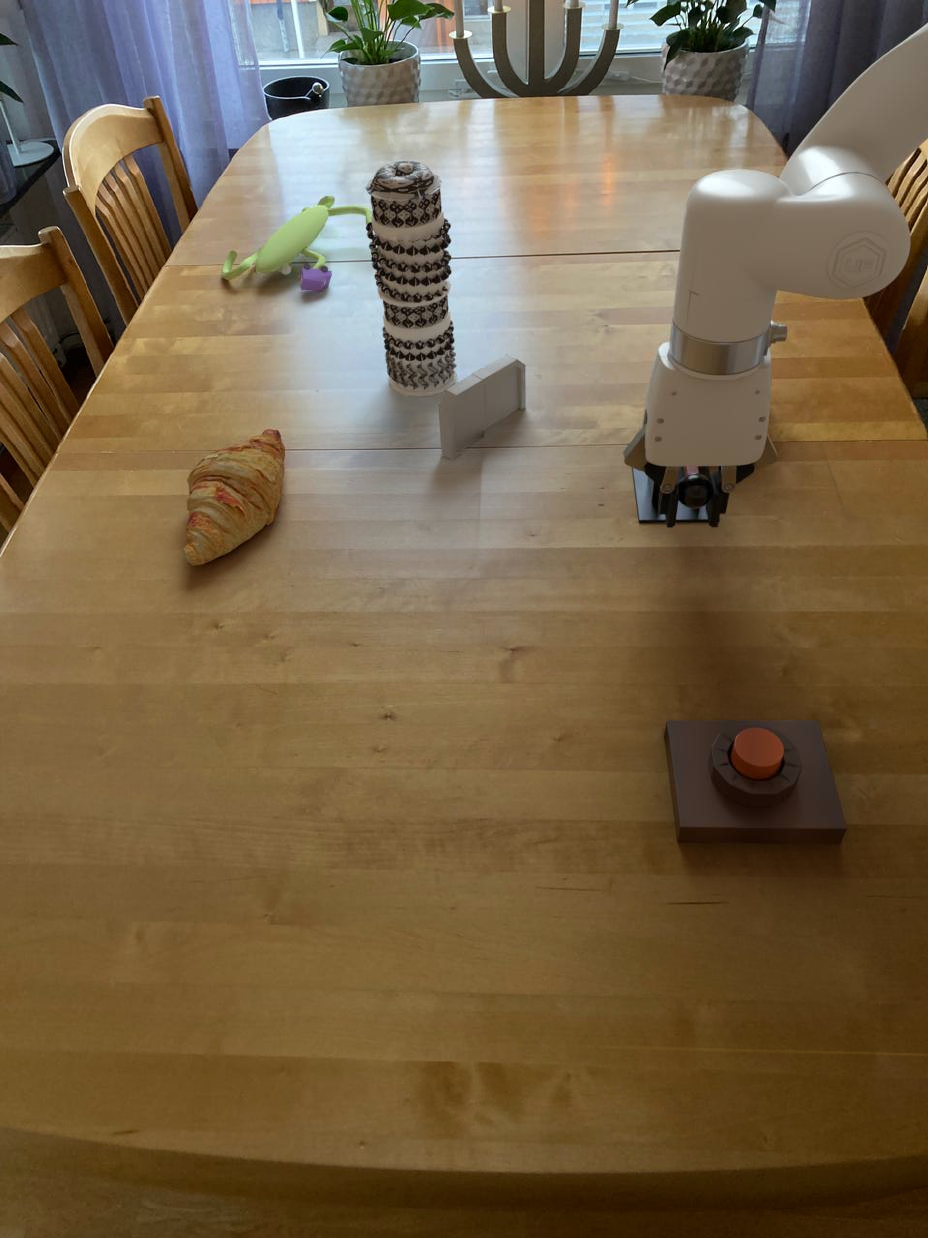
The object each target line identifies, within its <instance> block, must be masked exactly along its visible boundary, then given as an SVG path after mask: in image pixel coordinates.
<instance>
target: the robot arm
mask: <svg viewBox="0 0 928 1238" xmlns="http://www.w3.org/2000/svg"><path fill="white" fill-rule="evenodd" d="M927 140H928V22H927V23H926V24H924V25H923V26H922V27H921V28H919V29H918V30H916V31H914V33H912V34H910V35H909V36H908V37H907V38H906V39H904V40H903V41H902V42H900V43H898V44H897V45H896V46H895V47H893V48H892V49H890V50H889V51H887V53H885V54H884V55H882V56H881V57H880V58H878V59H877V60H876V61H875V62H873V63H872V64H871V65H870V66H869V67H868V68H866V69H865V70H864V71H863V72H862V73H861V74H860V75H858V77H857V78H856V79H855V80H854V81H853V82H852V83H851V84H850V85H849V86H848V87H847V88H846V89H845V90H844V92H842V94H841V95H840V96H839V97H838V98H837V99H836V101H835V102H834V103H833V104H832V105H831V106H830V108H829V109H828V110H827V111H826V112H825V114H823V115H822V117H821V118H820V119H819V121H817V123H816V124H815V125H814V127H813V128H812V129H811V130H810V131H809V132H808V134H807V135H806V136H805V137H804V138H803V140H802V141H801V142H800V144H799V145H798V146H797V147H796V149H794V151H793V153H792V155H791V156H790V157H789V159H788V161H787V162H786V164H785V165H784V168H783V170H782V172H781V173H780V175H779V177H778V176H775V175H773V174H772V173H771V174H770V173H768V172H765V171H760V170H753V169H746V168H736V169H723V170H719V171H714V172H712V173H709V174H706V175H705V176H704V177H702V178H700V179H698V180H697V181H696V182H695V183H694V184H693V186H692V187H691V188H690V191H689V193H688V195H687V197H686V201H685V205H684V213H683V222H682V231H681V239H680V247H679V255H678V265H677V274H676V282H675V291H674V299H673V308H672V318H671V325H670V334H669V341H665V342H663V343H662V344H661V345H660V346H659V347H658V349H657V352H656V355H655V358H654V361H653V365H652V368H651V370H650V371H651V372H650V375H649V379H648V385H647V388H646V389H647V390H646V395H645V399H644V406H643V411H642V412H643V413H642V419H641V428H640V429H639V431H638V432H637V433H636V435H635V436H633V438H632V440H631V441H630V442H629V443H628V445H626V447H625V448H624V450H623V452H622V454H623V456H622V457H623V463H624V464H625V465H626V466H628V467H630V468H631V469H632V468H634V469H637V470H639V471H643V472H645V474H646V475H647V476H648V477H649V478H650V479H651V480H653V481H654V482H655V483H656V484H657V485H658V486H660V492H659V500H658V511H659V515H665V519H666V525H665V526H666V528H667V529H673V528H674V527H675V526H676V523H677V522H676V516H677V509H678V502H679V490H678V485H677V478H678V475H679V471H680V468H681V466H708V467H717V471H716V472H712V475H710V482H711V484H712V488H713V493H712V497H711V499H710V501H709V502H708V503H707V504H706V512H707V517H708V522H707V523H708V525H709V527H710V528H718V527H719V523H720V522H719V518H721V517H720V516H721V515H726V513H727V509H728V505H729V504H728V503H729V498H730V493H732V492H734V491H735V490H736V487H737V485H738V484H739V483H741V482H742V481H744V480H745V479H747V478H748V477H749V476H751V475H752V474H753V473H754V472H755V470H761V469H763V468H766V467H768V466H770V465H773V464H775V463H776V462H777V461H778V460H779V456H778V453H777V449H776V447H775V445H774V442H773V441H772V438H771V437H770V434H769V433H768V431H769V430H768V429H769V422H770V411H771V400H772V399H771V398H772V385H773V384H772V382H773V367H772V366H773V364H772V355H771V349H770V348H771V346H772V345H774V344H776V343H778V342H780V343H781V342H783V343H784V342H786V341H787V338H788V325H787V324H786V323H785V324H784V323H782V324H779V323H777V322H775V323H773V322H772V321H773V320H772V317H773V313H774V309H775V308H774V307H775V303H776V297H777V293H778V291H780V292H785V293H792V294H797V295H802V296H803V295H804V296H808V297H813V298H820V299H828V300H835V301H837V300H838V301H839V300H840V301H844V300H846V301H847V300H857V299H861V298H865V297H868V296H872V295H873V294H876V293H878V292H880V291H881V290H883V289H885V288H886V287H887V286H889V285H890V284H891V283H892V282H894V281H895V280H896V278H897V277H898V276H899V275H900V274H901V272H902V270H903V269H904V267H905V265H906V263H907V261H908V259H909V255H910V250H911V230H910V227H909V224H908V222H907V219H906V216H905V214H904V212H903V210H902V209H901V208H900V207H901V206H899V204H898V202H897V201H896V199H895V198H894V197H893V195H892V193H891V191H890V188H889V187H888V185H887V184H886V182H887V181H888V179H890V177H891V176H893V174H894V173H895V172H896V171H897V170H898V169H899V168H900V166H902V164H903V163H904V162H905V161H906V160H907V159H908V158H909V157H910V156H911V155H912V154H913V153H914V152H915V151H916V150H917V149H918V148H919V147H920V146H922V144H924V143H925V141H927Z"/></svg>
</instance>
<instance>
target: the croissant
mask: <svg viewBox="0 0 928 1238" xmlns="http://www.w3.org/2000/svg"><path fill="white" fill-rule="evenodd" d="M285 458H286V447H285V445H284V444H283V441H282V435H281V432H280V431H279V430H278V429H272V428H267V429H264V430H263V432H262V433H261V434H258V435H254V436H252V437H251V438H249V439H247V440H246V441H244V442H242V443H238V444H235V445H233V446H230V447H229V446H228V447H224V448H220V449H216V450H213V452H210V454H208V455H206V456H204V457H203V458H202V459H201V460H200V461H198V462H197V463H196V464H195V465H194V466H193V468H192V469H191V470H190V472H189V474H188V476H187V480H186V482H187V484H188V494H189V495H188V497H187V499H186V508H187V511H188V513H189V518H188V521H187V523H186V525H185V534H186V540H187V542H188V543H186V544H185V545H184V547H183V551H184V555H185V560H186V562H187V563H188V564H190V565H191V566H193V567H194V566H201V565H204V564H207V563H209V562H212V561H214V560H216V559H217V558H219V557H222V556H225V555H226V554H228V553H230V552H232V551H233V550H235V549H236V548H238V546H241V544H243V543H245V542H246V541H248V540H250V539H252V537H253V536H254V535H256V534H257V533H258V532H260V531H261V530H262V529H263V528H264V527H265V526H270V524H272V523H273V522H274V520H275V518H276V514H277V513H276V512H277V509H278V506H279V504H280V503H281V499H282V497H283V496H282V495H283V488H284V476H285Z"/></svg>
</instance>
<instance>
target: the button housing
mask: <svg viewBox="0 0 928 1238" xmlns="http://www.w3.org/2000/svg"><path fill="white" fill-rule="evenodd" d="M749 728H762V729H765V730H768V731H770V732H772V733H773V734H775V735H776V736H777V737H778V738H779V739H780V740H781V742H782V744H783V747H784V755H783V758H782V761H781V764H780V768H779V770H778V772H777V773H776V774H775V775H774V776H772V777H770V778H768V779H764V780H755V779H750V778H748V777H745V776H743V775H742V774H740V773H739V772H738V771H737V770H736V769H735V767H734V766H733V764H732V761H731V753H732V749H733V745H734V741H735V738H736V736H737V735H738V734H739V733H740V732H742V731H743V730H746V729H749ZM663 734H664V735H663V739H664V740H663V741H664V748H665V755H666V756H665V757H666V765H667V771H668V779H669V780H668V781H669V788H670V794H671V796H670V797H671V803H672V811H673V819H674V828H675V835H676V841H677V843H687V844H689V843H690V844H692V843H695V844H697V843H698V844H782V845H783V844H784V845H785V844H786V845H788V844H789V845H790V844H791V845H793V844H794V845H841V843H842V842H843V840H844V837H845V834H846V832H847V830H848V827H847V823H846V820H845V816H844V813H843V808H842V804H841V800H840V797H839V793H838V790H837V785H836V781H835V778H834V774H833V771H832V767H831V763H830V759H829V756H828V752H827V748H826V744H825V741H824V736H823V733H822V729H821V725H820V721H819V720H817V719H816V720H814V719H813V720H807V719H805V720H804V719H803V720H802V719H795V720H793V719H791V720H790V719H789V720H787V719H783V720H781V719H780V720H779V719H778V720H777V719H776V720H775V719H760V720H759V719H666V721H665V728H664V733H663Z"/></svg>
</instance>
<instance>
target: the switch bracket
mask: <svg viewBox="0 0 928 1238" xmlns="http://www.w3.org/2000/svg"><path fill="white" fill-rule="evenodd" d="M709 468H710V466H698V470H699V474H702V475H704V476H705V477H707V478H708V479H709V480H710V476H711V473H710V472H711V471H710V469H709ZM631 472H632V480H633V481H632V482H633V489H634V495H635V505H636V511H637V520H638V523H639V524H658V523H659V524H661V523H664V524H665V523H666V519H665V515H659V511H658V500H659V492H660V486H658V485H657V484H656V483H655V482H654V481H653V480H651V479H650V478H649V477H648V476H647V475H646V474H645V472H643V471H639V470H637V469H634V468H632V467H631ZM683 477H685V471H684V466H681V468H680V471H679V475H678V478H677V485H678V483H679V482H680V480H681V479H682V478H683ZM720 518H721V517H719V523H720V521H721V519H720ZM676 523H709V522H708V517H707V512H706V505H705V506H703V507H701V508H697V509H691V508H687V507H685V506H684V505H682V504H681V503H680V501H679V502H678V509H677V516H676Z"/></svg>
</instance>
